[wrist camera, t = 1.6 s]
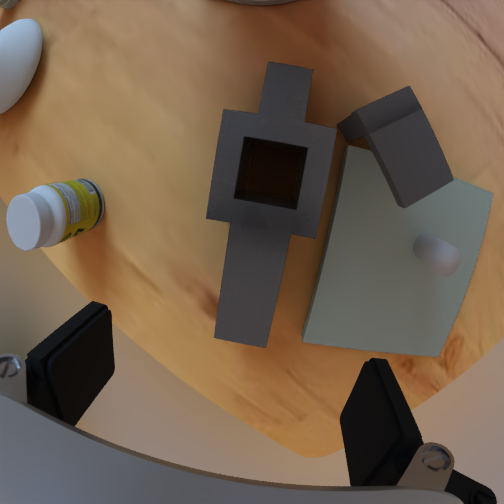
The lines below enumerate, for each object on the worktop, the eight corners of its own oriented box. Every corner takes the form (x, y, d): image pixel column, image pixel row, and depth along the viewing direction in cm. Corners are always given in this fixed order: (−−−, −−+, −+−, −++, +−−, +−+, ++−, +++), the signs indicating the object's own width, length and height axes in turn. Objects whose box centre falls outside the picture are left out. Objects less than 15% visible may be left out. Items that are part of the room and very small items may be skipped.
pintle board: (341, 92, 20) (361, 70, 14) (492, 148, 20) (536, 149, 14) (290, 332, 26) (292, 377, 20) (433, 350, 25) (459, 387, 19)
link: (247, 71, 20) (236, 42, 15) (331, 85, 20) (347, 61, 14) (211, 296, 26) (192, 333, 20) (286, 311, 25) (287, 351, 20)
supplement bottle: (70, 232, 25) (10, 258, 17) (62, 183, 24) (-2, 196, 16) (110, 226, 25) (50, 254, 17) (102, 173, 24) (37, 182, 16)
